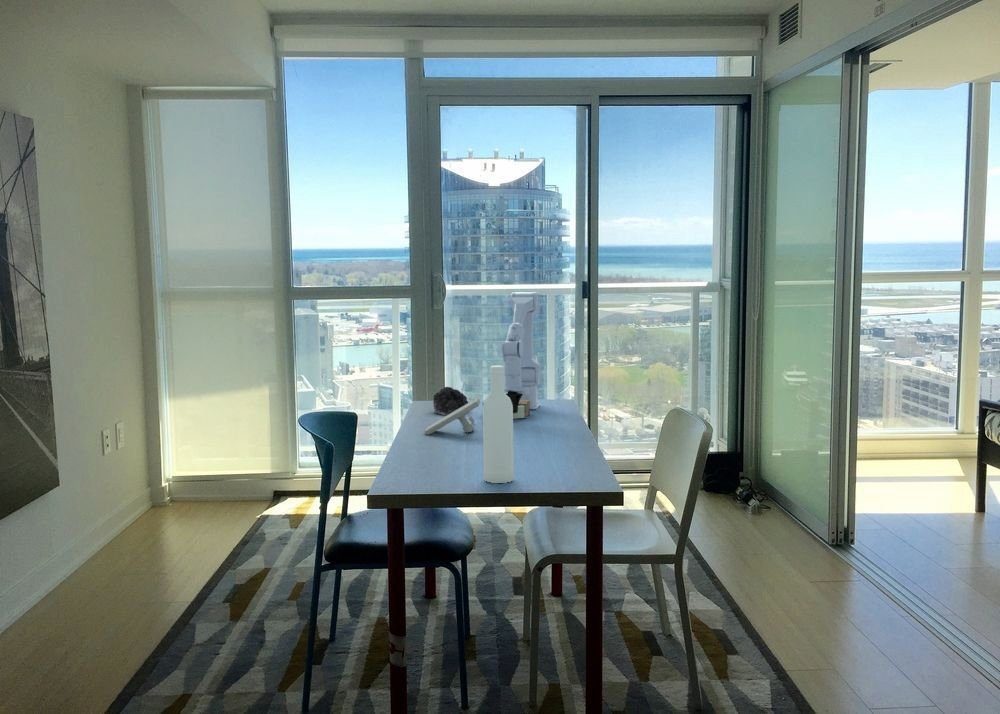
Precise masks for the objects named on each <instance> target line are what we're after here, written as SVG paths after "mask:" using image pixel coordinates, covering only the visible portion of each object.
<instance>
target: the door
mask: <svg viewBox="0 0 1000 714" xmlns="http://www.w3.org/2000/svg"><path fill="white" fill-rule="evenodd" d="M524 411H526V406H518V412H517V413H513V419H526V418H525V417H527V415H526V412H524ZM527 418H528V417H527Z"/></svg>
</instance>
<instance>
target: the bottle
mask: <svg viewBox="0 0 1000 714" xmlns="http://www.w3.org/2000/svg"><path fill="white" fill-rule="evenodd" d="M489 378H490V379H489V380H490V382H489V383H490V384H489V386H490V388H489V389H490V390H489V391H490V392H489V394H488V395H487V396H486V397H485V399H484V400H483V402H484V404H483V403H482V425H483V426H482V436H483V437H482V438H483V439H482V441H483V477H484V478H483V480H484V481H485V482H486V481H487V482H491V483H505V484H508V483H507V482H510V483H512V482H513V481H514V480H515V477H514V475H515V467H514V465H515V461H514V418H513V405H512V402H511V399H510V398H509V397H508V396H507V395H506V394H507V393H506V392H505V391H504V385H505V366H504V365H491V366H490V367H489ZM511 481H512V482H511ZM487 482H486V483H487ZM491 483H490V484H491Z"/></svg>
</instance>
